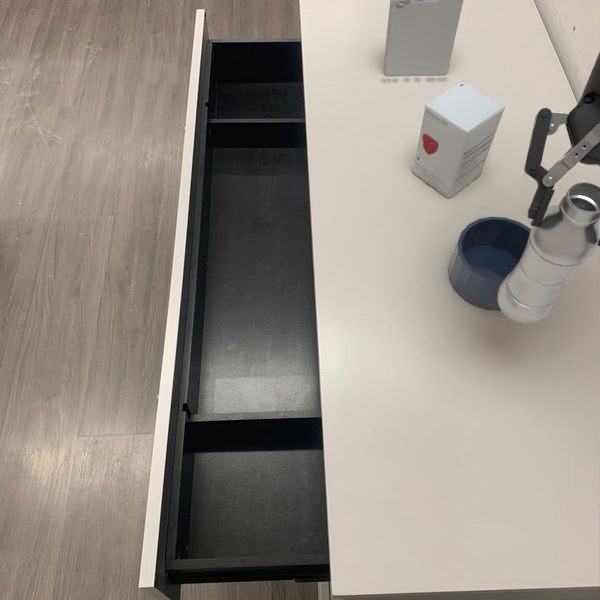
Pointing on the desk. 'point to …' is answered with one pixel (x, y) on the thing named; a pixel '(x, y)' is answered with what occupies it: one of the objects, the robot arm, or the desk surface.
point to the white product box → (456, 138)
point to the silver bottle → (552, 255)
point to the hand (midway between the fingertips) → (568, 235)
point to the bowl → (486, 258)
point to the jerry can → (420, 36)
